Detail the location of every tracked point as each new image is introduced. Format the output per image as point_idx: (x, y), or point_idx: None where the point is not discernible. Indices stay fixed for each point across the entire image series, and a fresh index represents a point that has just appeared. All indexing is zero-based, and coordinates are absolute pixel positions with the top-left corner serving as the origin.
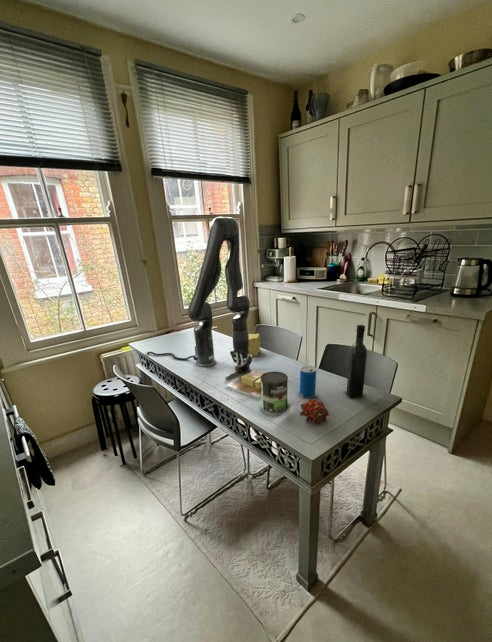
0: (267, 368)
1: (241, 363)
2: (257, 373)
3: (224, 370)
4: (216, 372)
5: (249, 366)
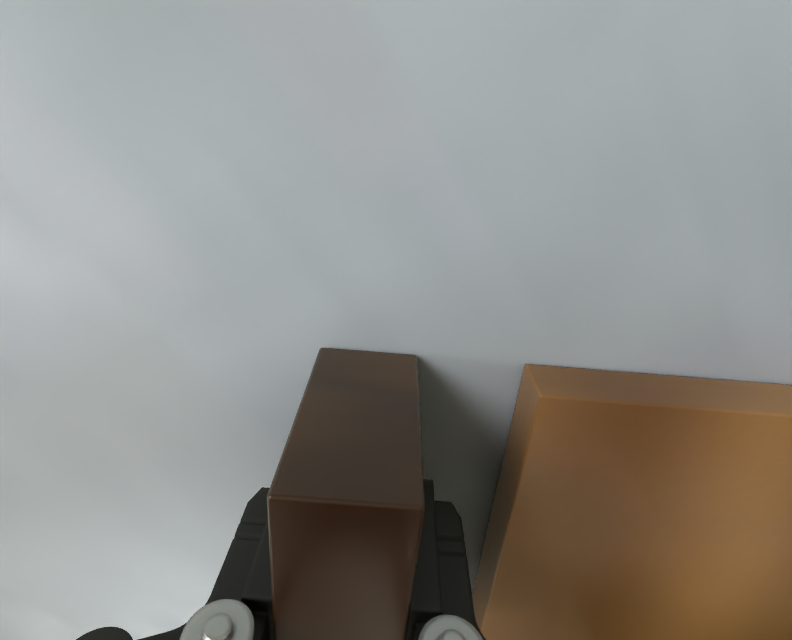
0: (738, 14)
1: (283, 631)
2: (680, 487)
3: (23, 500)
4: (2, 583)
5: (419, 421)
